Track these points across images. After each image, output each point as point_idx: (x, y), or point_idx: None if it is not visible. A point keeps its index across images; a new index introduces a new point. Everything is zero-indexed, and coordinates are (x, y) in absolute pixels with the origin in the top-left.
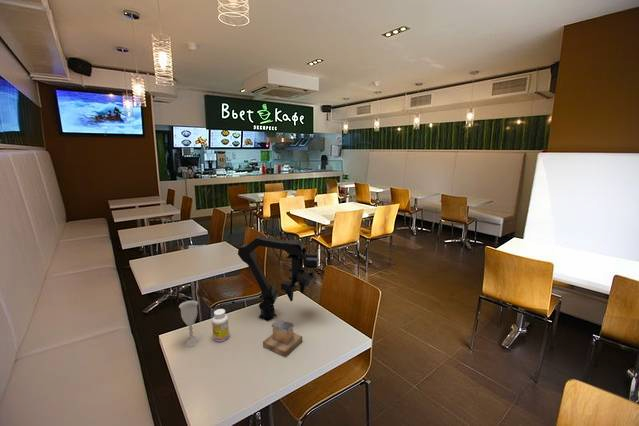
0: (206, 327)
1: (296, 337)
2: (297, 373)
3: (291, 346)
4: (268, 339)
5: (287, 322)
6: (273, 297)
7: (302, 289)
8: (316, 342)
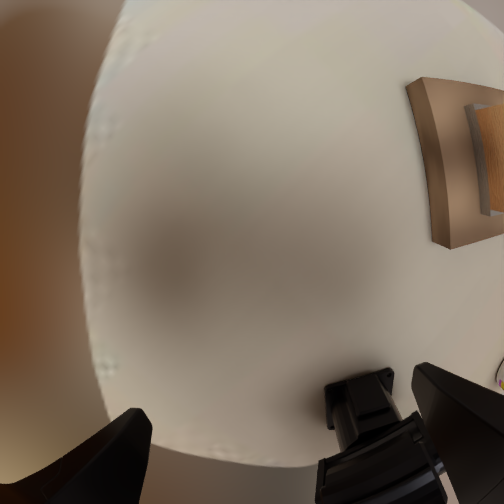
0: None
1: (449, 100)
2: (488, 27)
3: (489, 87)
4: None
5: None
6: (431, 471)
7: (124, 456)
8: (351, 24)
